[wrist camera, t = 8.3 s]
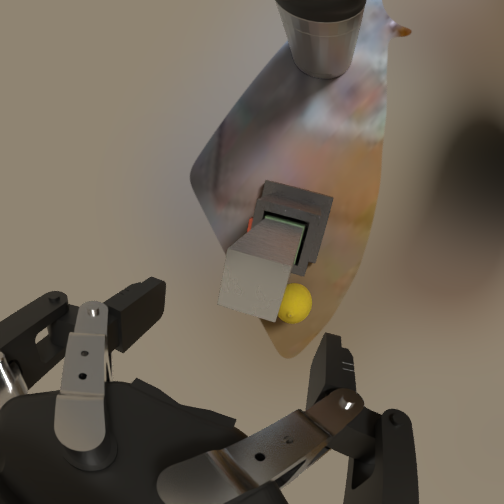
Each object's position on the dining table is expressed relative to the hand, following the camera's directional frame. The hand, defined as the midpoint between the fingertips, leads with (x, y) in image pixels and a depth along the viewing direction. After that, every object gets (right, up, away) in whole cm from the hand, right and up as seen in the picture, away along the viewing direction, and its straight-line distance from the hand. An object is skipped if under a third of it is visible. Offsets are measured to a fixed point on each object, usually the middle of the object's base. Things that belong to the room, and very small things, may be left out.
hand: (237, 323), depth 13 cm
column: (+5, +6, +22) cm, 23 cm away
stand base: (+7, +8, +28) cm, 30 cm away
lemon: (+8, -3, +31) cm, 32 cm away
